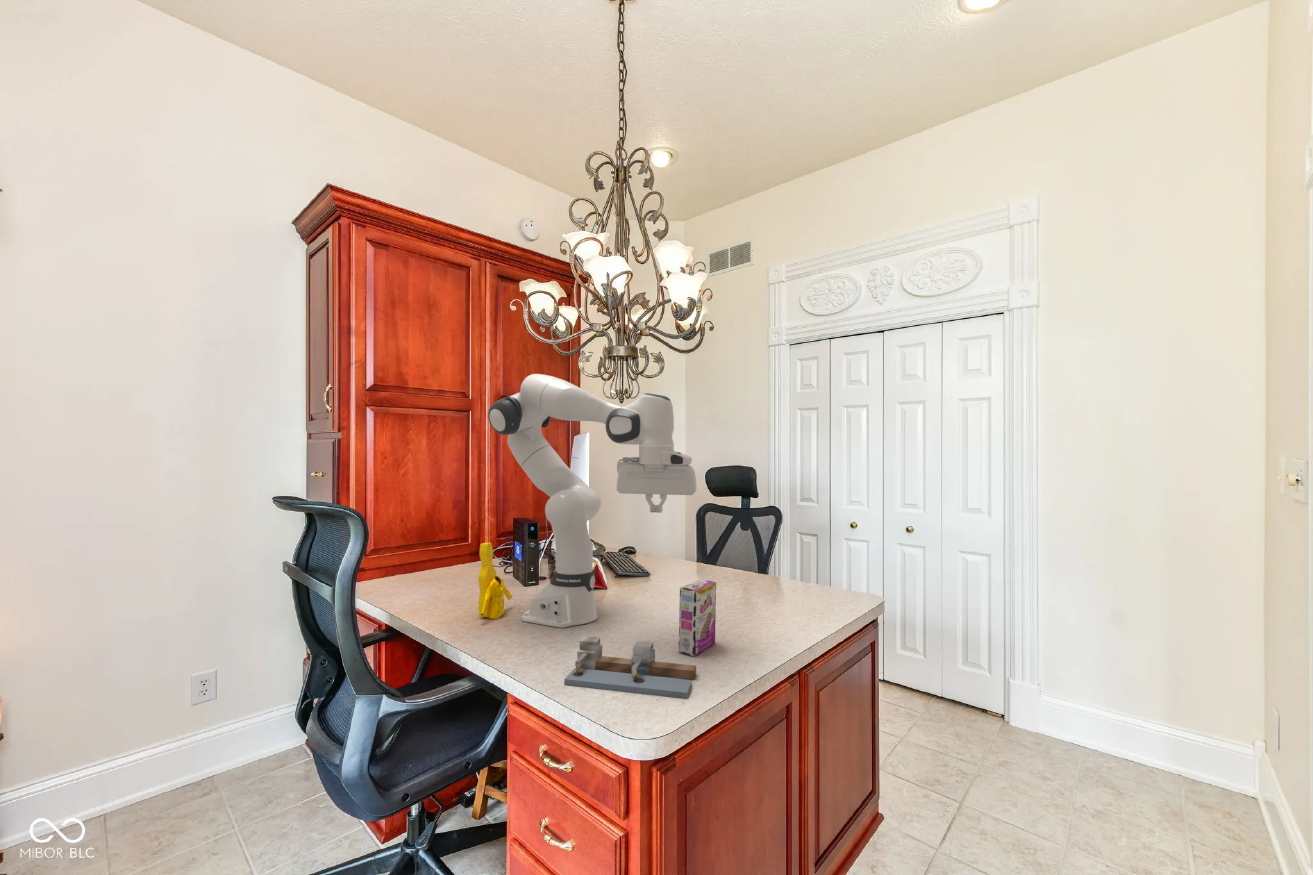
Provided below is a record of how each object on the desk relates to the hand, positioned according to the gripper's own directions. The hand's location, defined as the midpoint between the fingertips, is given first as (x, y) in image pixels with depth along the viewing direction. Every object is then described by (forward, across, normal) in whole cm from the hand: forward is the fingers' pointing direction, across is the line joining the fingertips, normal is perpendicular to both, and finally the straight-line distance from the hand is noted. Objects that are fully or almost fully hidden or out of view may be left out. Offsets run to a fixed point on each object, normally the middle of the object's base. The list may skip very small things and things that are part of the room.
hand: (656, 512), depth 135 cm
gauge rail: (+35, -2, -14) cm, 38 cm away
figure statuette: (+35, -55, +16) cm, 67 cm away
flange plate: (+35, -2, -19) cm, 40 cm away
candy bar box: (+35, +10, +5) cm, 37 cm away
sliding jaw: (+35, 0, -14) cm, 38 cm away
